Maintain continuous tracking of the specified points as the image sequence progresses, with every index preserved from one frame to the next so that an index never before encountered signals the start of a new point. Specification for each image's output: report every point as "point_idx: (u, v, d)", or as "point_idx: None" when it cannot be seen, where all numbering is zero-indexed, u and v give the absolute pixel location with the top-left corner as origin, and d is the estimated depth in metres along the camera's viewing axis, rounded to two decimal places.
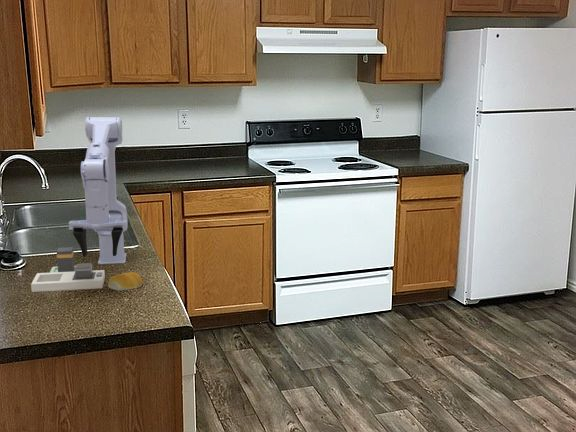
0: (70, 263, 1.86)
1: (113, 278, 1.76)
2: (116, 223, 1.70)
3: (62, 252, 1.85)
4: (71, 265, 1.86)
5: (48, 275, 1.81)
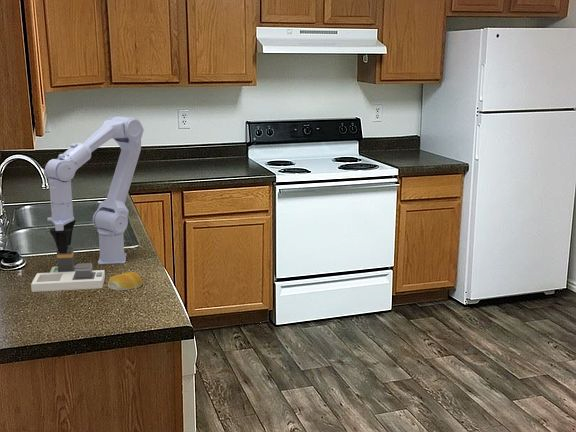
0: (70, 263, 1.86)
1: (113, 278, 1.76)
2: (54, 222, 1.80)
3: None
4: (71, 265, 1.86)
5: (48, 275, 1.81)
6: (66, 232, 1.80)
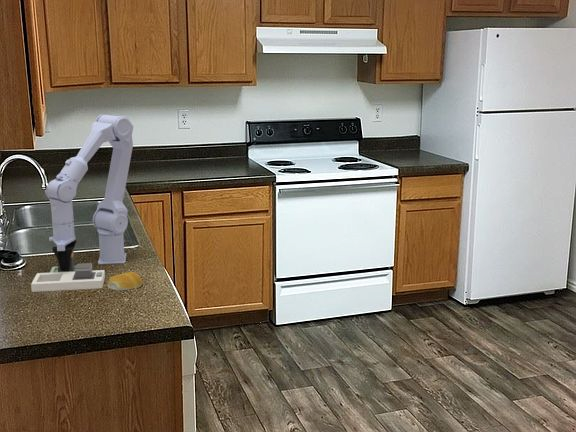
0: (70, 263, 1.86)
1: (113, 278, 1.76)
2: (56, 243, 1.81)
3: None
4: (71, 265, 1.86)
5: (48, 275, 1.81)
6: (68, 250, 1.83)
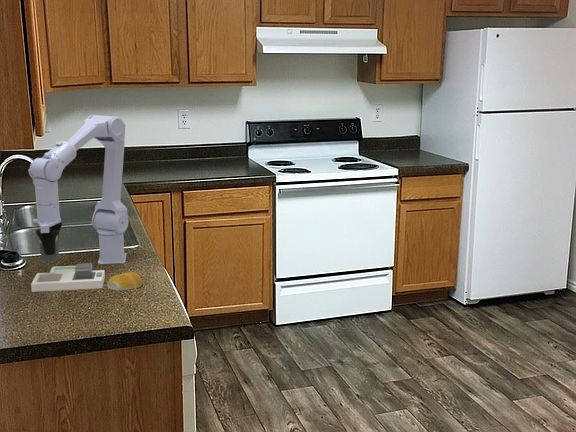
0: None
1: (112, 278, 1.76)
2: (40, 224, 1.71)
3: None
4: (55, 250, 1.77)
5: (48, 275, 1.81)
6: (53, 233, 1.73)
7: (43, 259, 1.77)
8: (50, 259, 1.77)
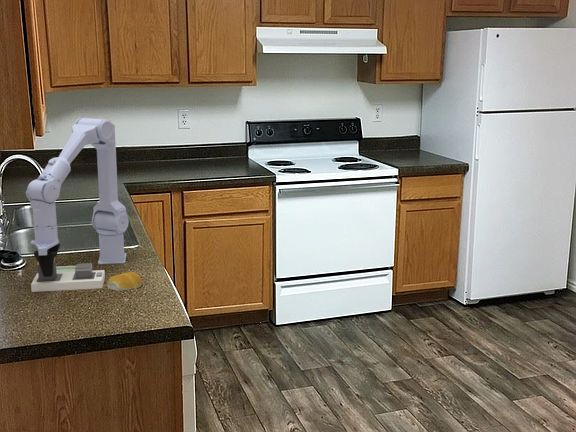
0: None
1: (112, 278, 1.76)
2: (38, 246, 1.70)
3: None
4: None
5: None
6: (51, 255, 1.72)
7: (41, 281, 1.76)
8: None
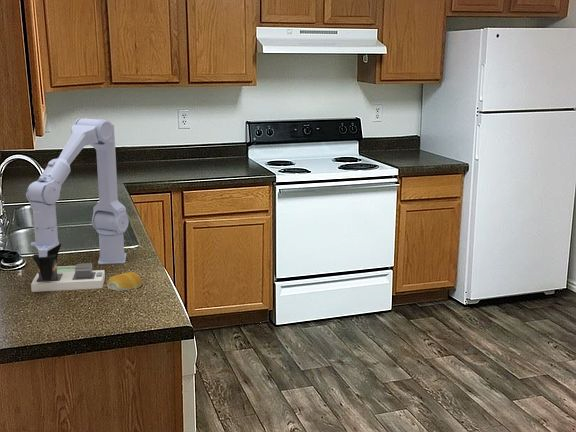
0: (53, 276, 1.76)
1: (112, 278, 1.76)
2: (38, 248, 1.71)
3: None
4: (53, 279, 1.76)
5: None
6: (50, 258, 1.71)
7: None
8: None
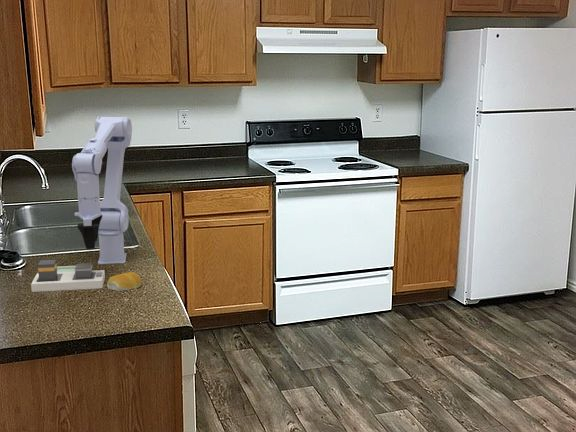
0: (53, 276, 1.76)
1: (112, 278, 1.76)
2: (82, 217, 1.76)
3: (44, 265, 1.75)
4: (53, 279, 1.76)
5: None
6: (94, 227, 1.76)
7: None
8: None
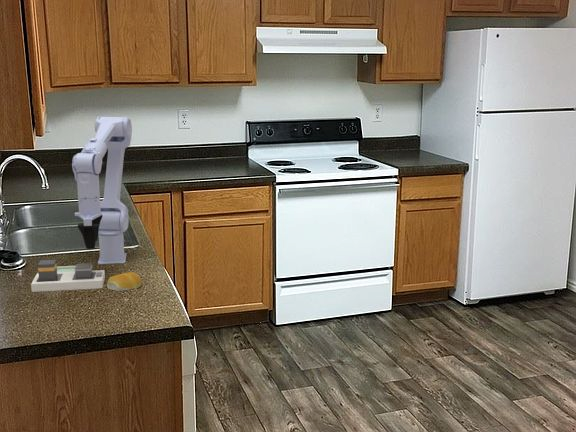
0: (53, 276, 1.76)
1: (112, 278, 1.76)
2: (82, 217, 1.76)
3: (44, 265, 1.75)
4: (53, 279, 1.76)
5: None
6: (94, 227, 1.76)
7: None
8: None
